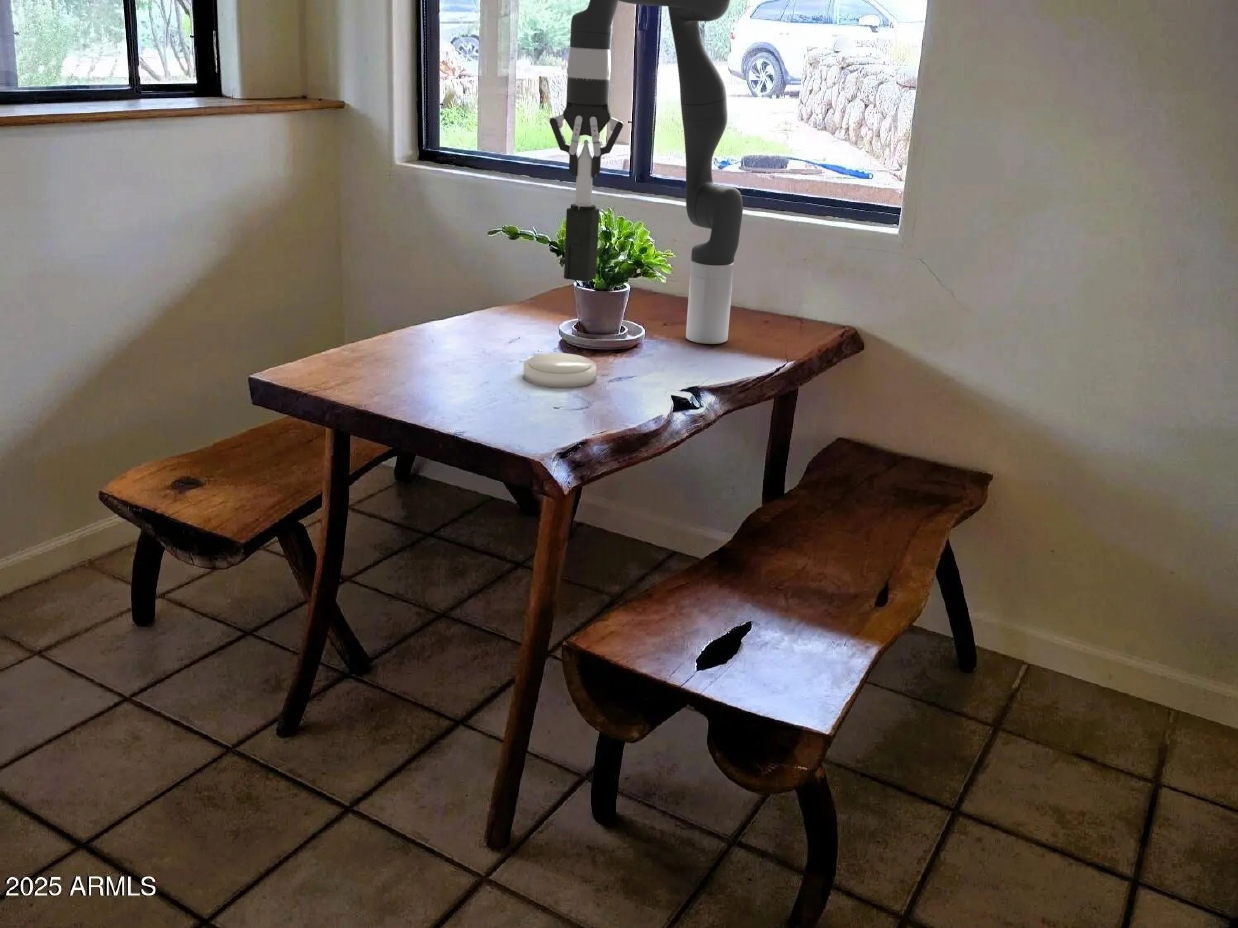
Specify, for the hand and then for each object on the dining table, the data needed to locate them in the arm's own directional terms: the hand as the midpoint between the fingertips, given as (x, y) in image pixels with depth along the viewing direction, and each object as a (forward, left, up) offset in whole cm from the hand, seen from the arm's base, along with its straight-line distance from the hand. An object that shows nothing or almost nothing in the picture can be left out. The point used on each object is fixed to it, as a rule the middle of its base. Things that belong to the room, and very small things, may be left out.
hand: (584, 176), depth 204 cm
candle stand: (+1, -3, -38) cm, 38 cm away
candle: (0, 0, -19) cm, 19 cm away
